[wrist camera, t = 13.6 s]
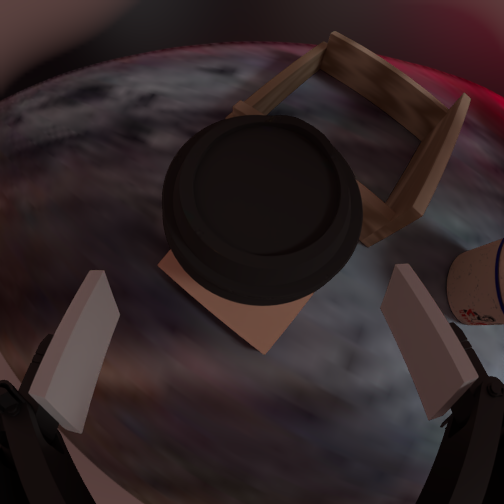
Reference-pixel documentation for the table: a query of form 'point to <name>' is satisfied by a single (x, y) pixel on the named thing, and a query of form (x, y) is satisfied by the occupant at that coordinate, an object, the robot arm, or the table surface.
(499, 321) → the teacup with lid
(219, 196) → the coffee cup
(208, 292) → the terracotta tile
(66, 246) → the table surface
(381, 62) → the frame
